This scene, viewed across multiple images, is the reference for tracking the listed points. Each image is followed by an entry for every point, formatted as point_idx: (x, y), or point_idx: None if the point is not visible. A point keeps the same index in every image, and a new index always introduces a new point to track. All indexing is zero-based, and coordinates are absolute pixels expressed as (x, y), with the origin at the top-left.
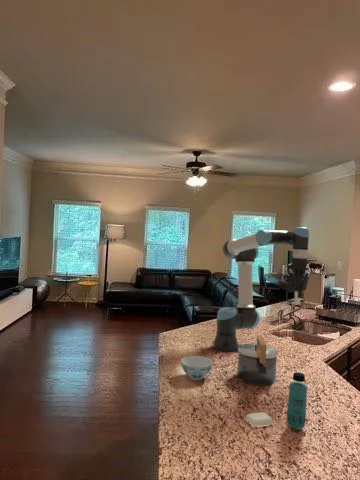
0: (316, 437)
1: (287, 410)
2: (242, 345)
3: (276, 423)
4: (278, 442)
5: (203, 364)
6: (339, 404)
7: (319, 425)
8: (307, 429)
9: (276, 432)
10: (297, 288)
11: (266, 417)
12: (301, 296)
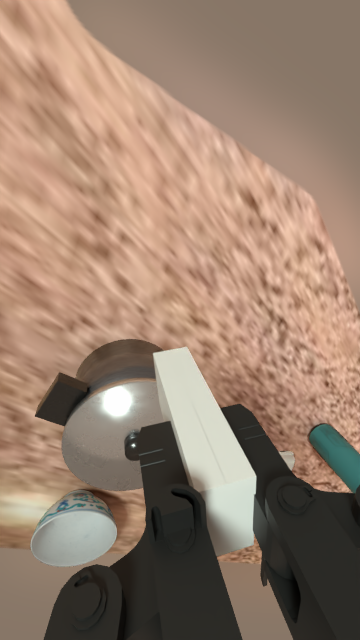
0: (345, 417)
1: (320, 455)
2: (76, 466)
3: (292, 445)
4: (321, 464)
5: (57, 505)
6: (321, 302)
7: (333, 393)
8: (328, 416)
9: (306, 456)
10: (207, 572)
11: (290, 467)
12: (253, 418)
